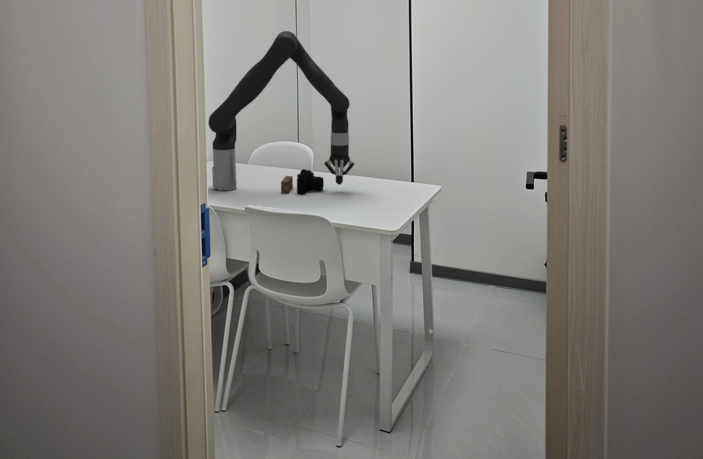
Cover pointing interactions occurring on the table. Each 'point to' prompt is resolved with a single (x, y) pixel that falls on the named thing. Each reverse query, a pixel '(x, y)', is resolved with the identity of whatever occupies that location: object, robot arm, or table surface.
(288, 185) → the bar
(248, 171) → the table surface
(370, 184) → the table surface
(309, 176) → the film camera
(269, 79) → the robot arm
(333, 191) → the table surface
